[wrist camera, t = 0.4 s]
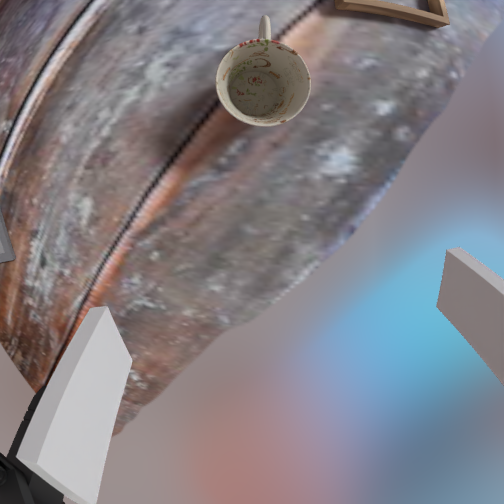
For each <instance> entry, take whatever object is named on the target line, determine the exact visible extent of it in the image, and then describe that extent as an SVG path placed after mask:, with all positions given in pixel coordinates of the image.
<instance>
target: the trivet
mask: <svg viewBox="0 0 504 504" xmlns="http://www.w3.org/2000/svg"><path fill="white" fill-rule="evenodd" d="M15 258H16V256H15V254H14V251H13V248H12V245H11V242H10V239H9V236H8V232H7V229H6V226H5V222H4V219H3V215H2V212H1V208H0V263H1V262H6V261H10V260H14V259H15Z"/></svg>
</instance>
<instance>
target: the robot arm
mask: <svg viewBox="0 0 504 504" xmlns="http://www.w3.org/2000/svg"><path fill="white" fill-rule="evenodd" d="M437 308H438V309H439V310H440V311H441V312H442V313H443V315H444V316H445V317H446V318H447V319H448V320H449V321H450V322H451V323H452V324H453V325H454V326H455V328H456V329H457V330H458V331H459V332H460V333H461V335H462V336H463V337H464V338H465V339H466V340H467V341H468V343H469V344H470V345H471V346H472V347H473V348H474V350H475V351H476V352H477V353H478V354H479V355H480V357H481V358H482V359H483V360H484V362H485V363H486V364H487V365H488V367H489V368H490V369H491V370H492V372H493V373H494V374H495V375H496V377H497V378H498V379H499V380H500V382H501V383H502V384H503V386H504V279H502V278H501V277H500V276H498V275H497V274H496V273H494V272H493V271H492V270H491V269H489V268H488V267H487V266H485V265H484V264H482V263H481V262H480V261H478V260H477V259H476V258H474V257H473V256H471V255H470V254H469V253H467V252H466V251H464V250H463V249H462V248H460V247H457V248H453V249H449V250H446V256H445V263H444V270H443V275H442V281H441V286H440V291H439V296H438V302H437ZM131 364H132V359H131V357H130V355H129V353H128V351H127V349H126V346H125V344H124V342H123V340H122V338H121V336H120V334H119V332H118V329H117V327H116V325H115V323H114V320H113V318H112V316H111V314H110V311H109V309H108V307H107V306H103V307H94V308H90V309H89V311H88V313H87V314H86V316H85V318H84V319H83V321H82V323H81V325H80V326H79V328H78V330H77V331H76V333H75V335H74V337H73V338H72V340H71V342H70V344H69V345H68V347H67V349H66V351H65V353H64V355H63V356H62V358H61V360H60V362H59V364H58V366H57V368H56V370H55V372H54V373H53V375H52V377H51V379H50V381H49V383H48V385H47V386H43V387H42V388H41V389H40V390H39V391H38V392H37V393H36V395H35V396H34V397H33V399H32V401H31V403H30V405H29V407H28V411H27V412H26V414H25V416H24V421H22V422H21V424H20V427H19V429H18V431H17V434H16V436H15V438H14V441H13V443H12V445H11V448H10V450H9V453H8V455H7V457H5V456H4V455H3V454H1V453H0V504H65V503H64V502H63V497H64V495H65V496H66V497H68V498H69V499H71V500H72V501H74V502H75V503H79V504H97V498H98V493H99V488H100V483H101V478H102V473H103V468H104V464H105V460H106V456H107V451H108V447H109V443H110V439H111V435H112V431H113V427H114V423H115V420H116V416H117V412H118V408H119V405H120V401H121V398H122V394H123V391H124V387H125V384H126V381H127V377H128V374H129V371H130V367H131Z"/></svg>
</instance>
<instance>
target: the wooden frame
mask: <svg viewBox="0 0 504 504" xmlns="http://www.w3.org/2000/svg"><path fill="white" fill-rule="evenodd" d="M427 1H428V5H429V9H430V13H429V12H426V11H422V10H419V9H415V8H411V7H407V6H403V5H398V4H394V3H389V2H384V1H378V0H334V2H335V7H336V9H339V10H349V11H358V12H365V13H372V14H379V15H385V16H390V17H395V18H400V19H405V20H410V21H414V22H418V23H422V24H426V25H430V26H433V27H437V28H440V27H443V26H446V25H450V22H449V17H448V13H447V9H446V6H445V2H444V0H427Z"/></svg>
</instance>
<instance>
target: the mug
mask: <svg viewBox="0 0 504 504" xmlns="http://www.w3.org/2000/svg"><path fill="white" fill-rule="evenodd" d="M215 86H216V92H217V95H218V98H219V100H220V102H221V104H222V105H223V107H224V108H225V109H226V110H227V111H228V113H230V114H231V115H232V116H233V117H234V118H236V119H238V120H239V121H241V122H243V123H246V124H249V125H252V126H258V127H270V126H276V125H280V124H283V123H285V122H287V121H289V120H291V119H292V118H294V117H295V116H296V115H297V114H298V113H299V112H300V111H301V110H302V109H303V107H304V106H305V104H306V102H307V100H308V97H309V94H310V89H311V79H310V74H309V70H308V68H307V66H306V64H305V62H304V60H303V59H302V58H301V56H300V55H299V54H298V53H297V52H296V51H294V50H293V49H292V48H290V47H289V46H287V45H285V44H283V43H281V42H278V41H275V40H271V26H270V20H269V17H268V16H266V15H264V16H262V18H261V21H260V25H259V37H258V39H254V40H249V41H246V42H243V43H241V44H239V45H237V46H235V47H234V48H233V49H231V50H230V51H229V52H228V53H227V54H226V55H225V56H224V57H223V59H222V60H221V62H220V64H219V66H218V69H217V72H216V78H215Z"/></svg>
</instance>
